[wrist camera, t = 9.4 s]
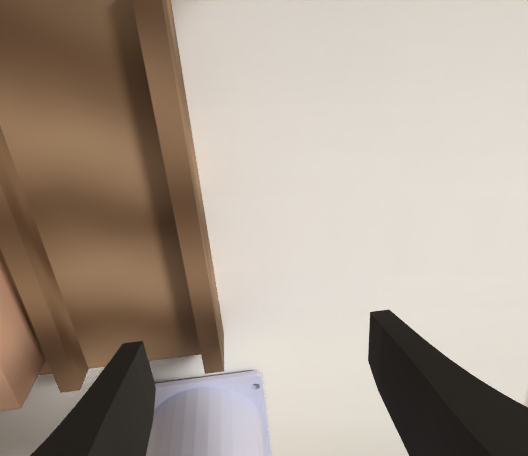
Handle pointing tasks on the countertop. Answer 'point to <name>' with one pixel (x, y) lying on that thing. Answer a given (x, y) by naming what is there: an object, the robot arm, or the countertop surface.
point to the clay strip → (15, 349)
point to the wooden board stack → (102, 186)
